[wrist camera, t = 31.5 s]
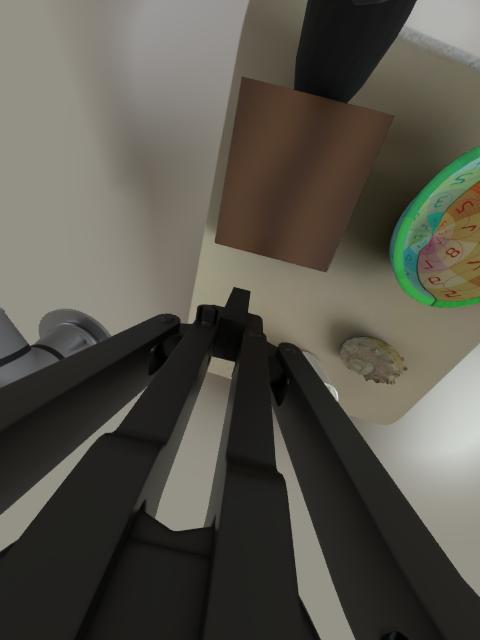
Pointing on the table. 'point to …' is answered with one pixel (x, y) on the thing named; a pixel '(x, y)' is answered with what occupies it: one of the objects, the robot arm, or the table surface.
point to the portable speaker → (345, 44)
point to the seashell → (372, 359)
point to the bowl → (442, 238)
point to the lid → (295, 172)
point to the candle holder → (321, 373)
